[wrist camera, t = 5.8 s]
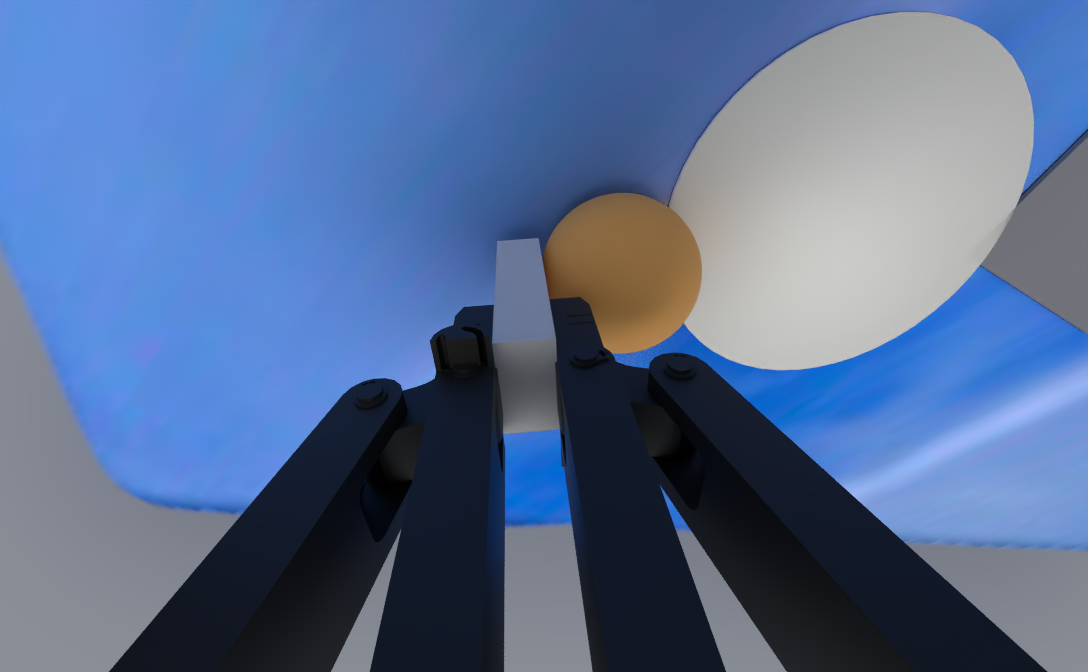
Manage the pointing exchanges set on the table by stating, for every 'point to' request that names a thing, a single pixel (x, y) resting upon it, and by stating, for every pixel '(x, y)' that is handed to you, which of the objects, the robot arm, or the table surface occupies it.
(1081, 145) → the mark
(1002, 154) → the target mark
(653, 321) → the ball
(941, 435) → the table surface
